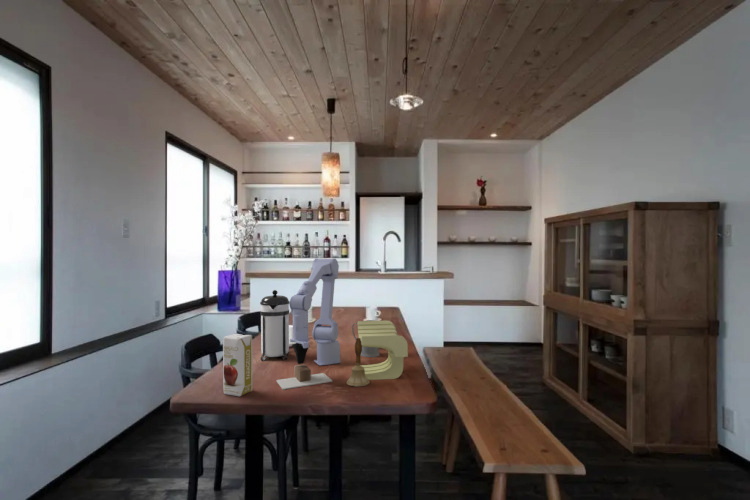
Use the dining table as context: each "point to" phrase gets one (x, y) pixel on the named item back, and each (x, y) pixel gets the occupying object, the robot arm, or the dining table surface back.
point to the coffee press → (274, 326)
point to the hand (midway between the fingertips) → (300, 363)
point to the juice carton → (237, 364)
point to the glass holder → (368, 348)
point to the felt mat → (295, 383)
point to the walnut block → (302, 373)
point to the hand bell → (358, 369)
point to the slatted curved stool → (386, 338)
